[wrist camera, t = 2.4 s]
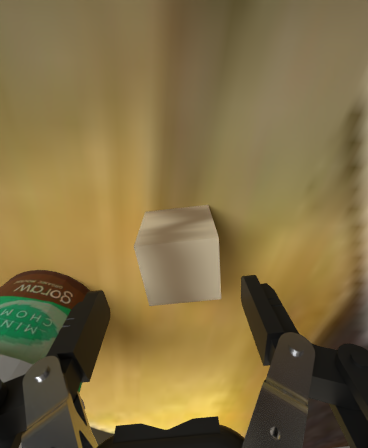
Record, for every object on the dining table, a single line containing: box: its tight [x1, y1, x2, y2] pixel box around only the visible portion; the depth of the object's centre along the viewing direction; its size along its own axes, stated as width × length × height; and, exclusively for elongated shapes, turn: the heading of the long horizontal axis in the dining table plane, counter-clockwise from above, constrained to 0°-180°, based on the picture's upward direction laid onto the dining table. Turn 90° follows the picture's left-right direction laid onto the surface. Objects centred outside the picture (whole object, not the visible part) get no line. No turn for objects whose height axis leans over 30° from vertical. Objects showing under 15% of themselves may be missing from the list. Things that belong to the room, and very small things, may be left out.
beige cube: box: [134, 205, 221, 306], centre depth 16 cm, size 5×5×5 cm
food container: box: [0, 270, 90, 410], centre depth 16 cm, size 12×6×10 cm, turn 80°
